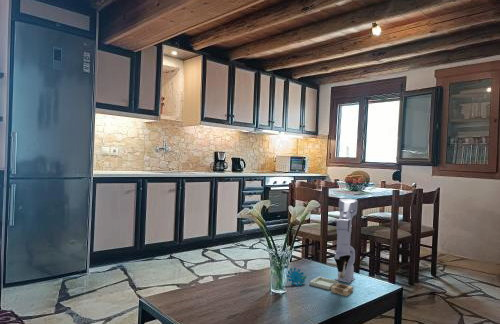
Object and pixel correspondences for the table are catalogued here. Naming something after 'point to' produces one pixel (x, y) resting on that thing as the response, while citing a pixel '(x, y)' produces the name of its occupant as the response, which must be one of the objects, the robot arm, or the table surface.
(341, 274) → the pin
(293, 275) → the blue spiky virus model
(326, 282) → the tray
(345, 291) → the socket block
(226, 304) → the table surface
